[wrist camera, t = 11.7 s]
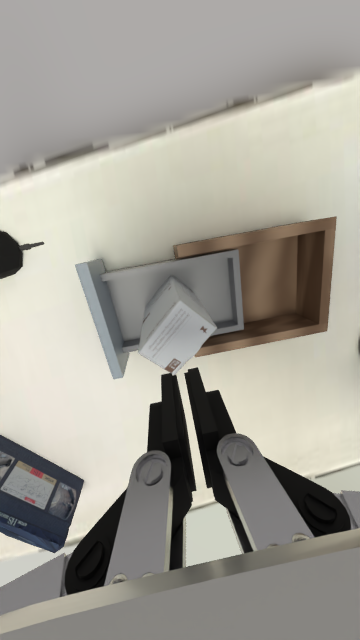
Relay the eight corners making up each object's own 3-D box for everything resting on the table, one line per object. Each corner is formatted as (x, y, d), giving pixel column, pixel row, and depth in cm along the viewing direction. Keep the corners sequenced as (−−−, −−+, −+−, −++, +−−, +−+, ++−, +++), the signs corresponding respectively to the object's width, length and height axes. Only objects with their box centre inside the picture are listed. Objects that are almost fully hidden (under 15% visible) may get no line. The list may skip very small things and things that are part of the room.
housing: (302, 222, 29) (336, 216, 23) (299, 316, 34) (327, 331, 28) (173, 245, 28) (176, 245, 23) (189, 338, 33) (195, 357, 28)
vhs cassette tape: (85, 479, 42) (64, 547, 32) (75, 487, 42) (51, 556, 33) (0, 431, 36) (-56, 496, 27) (-11, 440, 36) (-69, 508, 27)
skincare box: (170, 273, 28) (178, 293, 16) (196, 294, 29) (221, 326, 17) (143, 309, 29) (132, 352, 18) (169, 327, 30) (175, 378, 19)
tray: (229, 235, 27) (248, 232, 22) (237, 332, 32) (254, 351, 27) (92, 260, 27) (74, 264, 21) (121, 355, 32) (113, 379, 26)
